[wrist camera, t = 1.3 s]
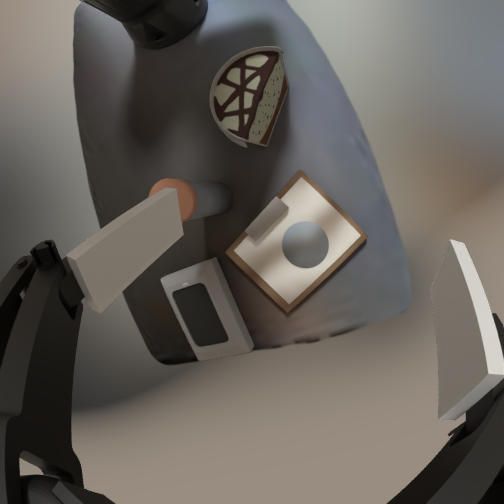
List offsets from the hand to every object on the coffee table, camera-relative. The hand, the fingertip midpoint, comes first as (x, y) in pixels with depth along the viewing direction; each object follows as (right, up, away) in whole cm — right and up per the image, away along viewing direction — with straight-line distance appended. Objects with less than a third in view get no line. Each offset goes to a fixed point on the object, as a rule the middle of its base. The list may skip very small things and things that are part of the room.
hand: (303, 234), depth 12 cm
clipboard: (+4, 0, +24) cm, 24 cm away
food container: (-1, +18, +22) cm, 29 cm away
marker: (-7, +7, +25) cm, 27 cm away
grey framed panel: (-9, -10, +30) cm, 33 cm away
